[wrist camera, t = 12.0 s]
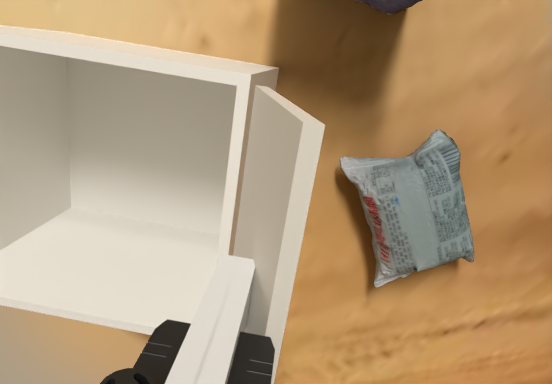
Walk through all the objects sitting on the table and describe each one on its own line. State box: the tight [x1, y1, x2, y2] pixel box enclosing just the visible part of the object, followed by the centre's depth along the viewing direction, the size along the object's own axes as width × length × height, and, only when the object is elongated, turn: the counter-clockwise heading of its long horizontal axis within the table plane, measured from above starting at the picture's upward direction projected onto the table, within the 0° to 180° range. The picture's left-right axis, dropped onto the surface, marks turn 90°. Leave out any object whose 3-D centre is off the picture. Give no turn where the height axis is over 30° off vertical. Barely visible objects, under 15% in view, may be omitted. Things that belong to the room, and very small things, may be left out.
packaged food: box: [340, 129, 474, 287], centre depth 31 cm, size 9×12×5 cm
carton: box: [0, 25, 279, 335], centre depth 27 cm, size 16×18×14 cm
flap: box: [233, 85, 325, 384], centre depth 16 cm, size 15×8×1 cm
